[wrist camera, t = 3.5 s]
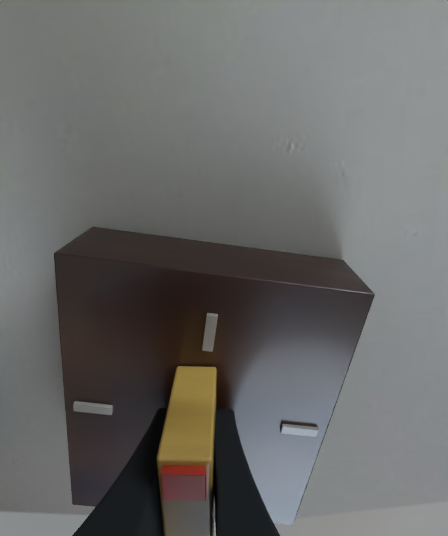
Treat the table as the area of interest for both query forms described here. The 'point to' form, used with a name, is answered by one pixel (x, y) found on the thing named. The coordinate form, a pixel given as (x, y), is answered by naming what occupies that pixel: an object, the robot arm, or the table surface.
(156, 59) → the table surface
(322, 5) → the table surface
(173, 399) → the yellow rectangular block
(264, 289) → the plate
